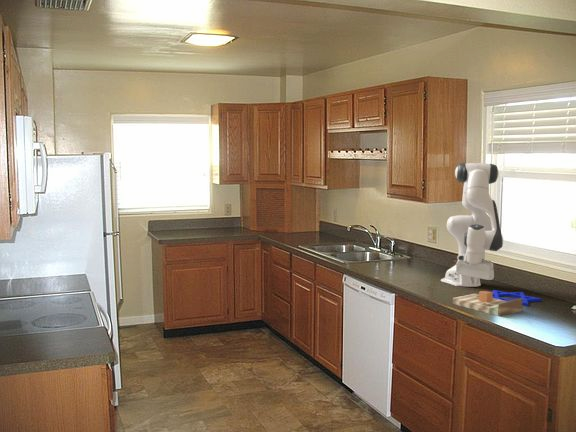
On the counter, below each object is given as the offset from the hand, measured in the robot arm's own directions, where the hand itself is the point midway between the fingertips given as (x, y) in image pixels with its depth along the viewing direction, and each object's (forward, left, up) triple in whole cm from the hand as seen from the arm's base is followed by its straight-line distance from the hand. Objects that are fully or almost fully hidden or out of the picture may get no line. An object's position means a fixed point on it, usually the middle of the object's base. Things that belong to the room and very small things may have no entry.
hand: (474, 286), depth 305 cm
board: (+7, 0, -9) cm, 12 cm away
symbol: (+3, +25, -10) cm, 27 cm away
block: (+7, 0, -6) cm, 9 cm away
